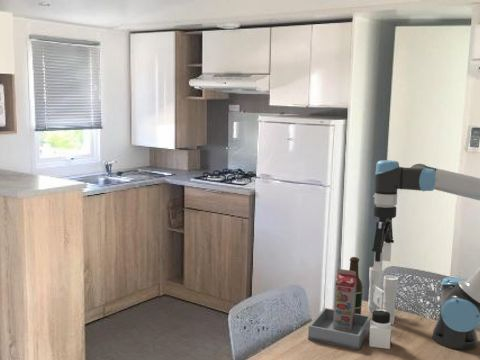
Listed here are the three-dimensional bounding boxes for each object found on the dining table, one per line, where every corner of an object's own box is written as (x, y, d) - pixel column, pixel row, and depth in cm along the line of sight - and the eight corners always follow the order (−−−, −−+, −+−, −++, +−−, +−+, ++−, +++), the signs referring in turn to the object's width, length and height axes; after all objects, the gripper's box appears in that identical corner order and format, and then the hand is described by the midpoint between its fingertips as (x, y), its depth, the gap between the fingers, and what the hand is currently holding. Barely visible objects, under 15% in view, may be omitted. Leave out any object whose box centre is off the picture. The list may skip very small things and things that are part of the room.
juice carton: (336, 322, 209) (339, 266, 206) (353, 325, 207) (357, 268, 204) (332, 328, 203) (336, 271, 200) (350, 331, 201) (354, 273, 198)
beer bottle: (362, 320, 214) (366, 261, 211) (343, 319, 215) (346, 260, 211) (358, 312, 222) (362, 255, 219) (339, 312, 222) (343, 254, 219)
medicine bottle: (390, 349, 189) (392, 316, 187) (369, 347, 190) (371, 314, 189) (388, 340, 196) (391, 308, 194) (368, 338, 197) (370, 306, 196)
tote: (370, 329, 206) (371, 316, 205) (358, 349, 188) (359, 336, 187) (323, 320, 213) (324, 307, 213) (308, 339, 195) (308, 325, 195)
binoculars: (364, 308, 227) (367, 267, 224) (376, 308, 228) (379, 266, 226) (385, 325, 210) (388, 280, 208) (397, 324, 211) (401, 279, 209)
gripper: (382, 199, 200) (379, 255, 203) (365, 210, 178) (362, 273, 181) (403, 201, 197) (400, 258, 200) (388, 212, 175) (385, 276, 178)
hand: (382, 265), depth 190 cm, fingers open, 13 cm apart
